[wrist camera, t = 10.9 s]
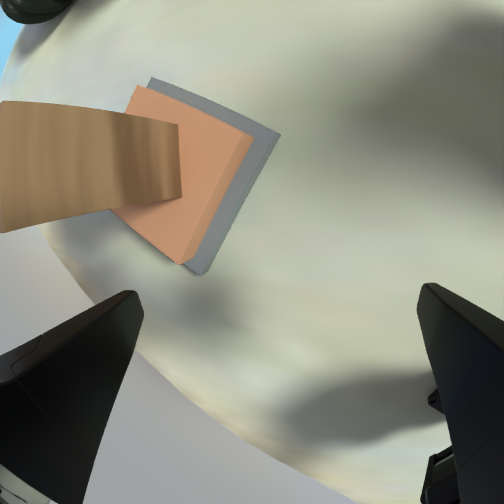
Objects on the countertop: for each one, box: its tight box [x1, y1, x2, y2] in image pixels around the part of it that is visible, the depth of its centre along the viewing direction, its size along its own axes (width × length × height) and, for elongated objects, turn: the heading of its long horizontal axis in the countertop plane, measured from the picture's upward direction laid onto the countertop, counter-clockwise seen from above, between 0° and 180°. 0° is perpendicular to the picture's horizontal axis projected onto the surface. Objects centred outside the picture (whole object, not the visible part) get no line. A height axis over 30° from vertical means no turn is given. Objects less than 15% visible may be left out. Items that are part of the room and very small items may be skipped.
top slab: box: [110, 85, 254, 265], centre depth 20 cm, size 10×10×2 cm
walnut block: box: [0, 101, 182, 233], centre depth 13 cm, size 5×5×12 cm
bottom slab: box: [146, 77, 281, 276], centre depth 22 cm, size 12×12×2 cm
